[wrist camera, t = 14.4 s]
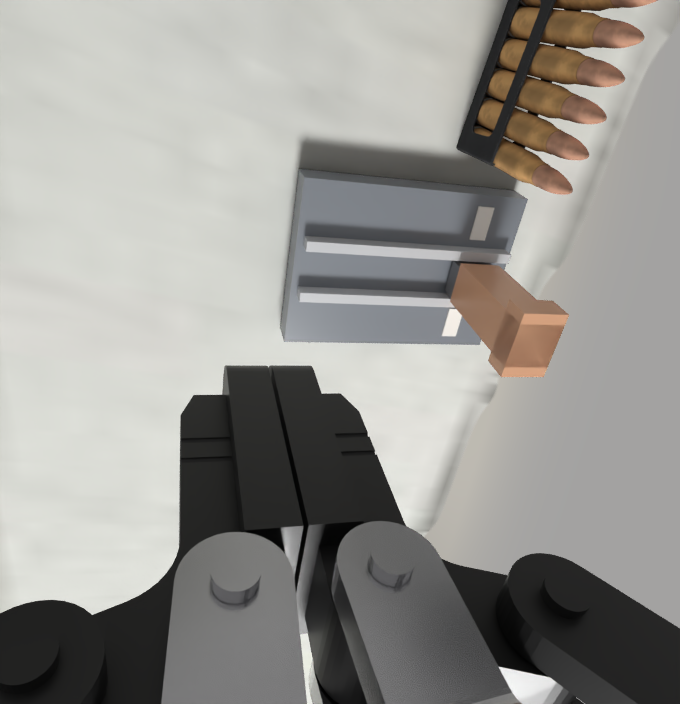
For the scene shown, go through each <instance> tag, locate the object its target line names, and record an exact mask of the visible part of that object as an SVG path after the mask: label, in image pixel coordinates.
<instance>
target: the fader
mask: <svg viewBox="0 0 680 704" xmlns="http://www.w3.org/2000/svg"><path fill="white" fill-rule="evenodd" d="M445 291H446V292H447V294H448V295H449V296H450V297H451V299H450V302H451V303H452V305H453V306H454V307H455V308H456V309H457V311H458V312H459V313H460V314H461V315H462V317H463V318H464V319H465V320H466V321H467V323H468V324H469V325H470V326H471V327H472V329H473V330H474V331H475V332H476V333H477V335H478V336H479V337H480V338H481V340H482V341H483V342H484V343H485V344H486V346H487V347H488V348H489V349H490V350H491V354H490V357H489V360H488V361H489V362H490V364H491V365H492V366H493V367H494V369H495V370H496V371H497V372H498V374H499V375H500V376H501V377H544V375H545V372H546V370H547V367H548V365H549V362H550V360H551V358H552V355H553V353H554V350H555V348H556V346H557V343H558V341H559V338H560V336H561V334H562V331H563V329H564V326H565V324H566V321H567V319H568V317H569V314H567V313H566V312H565V311H564V310H563V309H561V308H560V307H559V306H558V305H557V304H556V303H554V301H544V300H536V299H535V298H534V297H533V296H532V295H531V294H530V293H529V292H527V291H526V290H525V289H524V288H523V287H522V286H521V285H520V284H519V283H518V282H516V281H515V280H514V279H513V278H512V277H511V276H510V275H509V274H508V273H506V272H505V271H504V270H503V269H502V268H501V267H500V266H498V265H492V264H491V263H484V262H468V261H453V262H452V266H451V270H450V273H449V277H448V280H447V284H446V288H445Z"/></svg>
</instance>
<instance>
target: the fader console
mask: <svg viewBox="0 0 680 704" xmlns="http://www.w3.org/2000/svg"><path fill="white" fill-rule="evenodd" d="M527 200H528V199H527V198H525V197H524V196H522V195H520V194H519V193H517V192H516V191H514V190H504V189H494V188H484V187H474V186H465V185H455V184H445V183H435V182H425V181H415V180H406V179H396V178H386V177H376V176H366V175H356V174H346V173H337V172H327V171H317V170H307V169H299V173H298V182H297V190H296V199H295V207H294V216H293V224H292V233H291V241H290V250H289V258H288V267H287V276H286V284H285V293H284V301H283V310H282V318H281V327H280V329H281V332H282V336H283V339H284V342H338V343H400V344H461V345H480V342H481V338H480V337H479V336H478V335H477V333H476V332H475V331H474V330H473V329H472V327H471V326H470V325H469V324H468V323H467V321H466V320H465V319H464V318H463V317H462V315H461V314H460V313H459V312H458V311H457V309H456V308H455V307H454V306H453V305H452V303H451V302H450V299H451V297H450V296H449V295H448V294H447V292H446V291H445V288H446V284H447V280H448V277H449V273H450V270H451V266H452V262H453V261H468V262H484V263H491V264H492V265H498V266H500V267H501V268H502V269H503V270H504V269H505V266H506V264H509V261H510V258H511V254H510V251H511V248H512V245H513V242H514V239H515V236H516V233H517V230H518V227H519V224H520V221H521V218H522V215H523V212H524V209H525V206H526V203H527Z"/></svg>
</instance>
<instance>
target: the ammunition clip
mask: <svg viewBox="0 0 680 704" xmlns="http://www.w3.org/2000/svg"><path fill="white" fill-rule="evenodd" d="M656 1H657V0H508V3H507V6H506V8H505V11H504V14H503V17H502V20H501V23H500V25H499V28H498V31H497V34H496V37H495V40H494V42H493V45H492V48H491V51H490V54H489V56H488V59H487V62H486V65H485V68H484V71H483V73H482V76H481V79H480V82H479V85H478V88H477V90H476V93H475V96H474V99H473V102H472V105H471V107H470V110H469V113H468V116H467V119H466V122H465V124H464V127H463V130H462V133H461V136H460V138H459V141H458V144H457V147H456V148H457V150H460V151H462V152H464V153H466V154H468V155H470V156H472V157H474V158H477V159H479V160H481V161H483V162H485V163H487V164H489V165H492V166H495V167H497V168H498V169H500V170H502V171H504V172H505V173H507V174H509V175H510V176H512V177H514V178H516V179H517V180H519V181H522V182H525V183H530V184H532V185H534V186H536V187H539V188H541V189H543V190H545V191H548V192H551V193H555V194H570V193H572V191H573V189H572V186H571V184H570V183H569V181H568V180H567V179H566V178H565V177H564V176H563V175H562V174H561V173H560V172H559V171H557V170H555V169H554V168H552V167H550V166H549V165H548V164H546V163H545V162H543V161H542V160H541V159H540V158H539V157H538V156H537V155H536V154H534V153H532V152H530V151H528V150H526V149H525V146H526V147H528V148H530V149H532V150H535V151H542V152H546V153H549V154H553V155H555V156H557V157H560V158H564V159H568V160H583V159H587V158H588V157H589V153H588V150H587V149H586V147H585V146H584V145H583V144H582V143H581V142H580V141H579V140H577V139H576V138H574V137H573V136H571V135H569V134H567V133H565V132H563V131H561V130H559V129H557V128H556V127H555V126H554V125H553V124H552V123H550V122H548V121H546V120H544V119H541V118H539V117H538V115H542V116H545V117H548V118H560V119H563V120H569V121H572V122H575V123H581V124H597V123H601V122H604V121H605V120H606V119H607V117H606V114H605V112H604V111H603V110H602V109H601V108H600V107H599V106H598V105H596V104H595V103H593V102H591V101H590V100H588V99H586V98H583V97H580V96H578V95H576V94H573V93H571V92H570V91H568V90H567V89H565V88H564V87H562V86H559V85H556V84H552V81H553V82H557V83H561V84H579V85H587V86H593V87H610V86H615V85H618V84H621V83H622V82H624V80H625V77H624V75H623V74H622V72H621V71H620V70H618V69H617V68H616V67H614V66H612V65H611V64H609V63H606V62H604V61H601V60H596V59H594V58H591V57H588V56H585V55H583V54H582V53H580V52H578V51H576V50H570V49H566V47H573V48H581V49H585V48H590V47H599V48H602V47H604V48H624V47H629V46H633V45H636V44H638V43H640V42H641V41H643V40H644V35H643V33H642V32H641V31H640V30H639V29H637V28H636V27H634V26H633V25H631V24H628V23H625V22H622V21H617V20H611V19H608V18H602V17H600V16H598V15H596V14H594V13H588V12H581V10H591V11H601V10H605V9H608V8H620V7H625V8H631V7H639V6H644V5H647V4H650V3H653V2H656ZM553 8H560V9H564V10H556V9H553ZM540 42H542V43H549V44H555V45H554V46H550V45H544V44H539V43H540ZM527 75H530V76H534V77H538V78H541V80H539V79H535V78H532V77H528V76H527ZM515 106H518V107H520V108H523V109H526V110H528V113H527V112H524V111H522V110H519V109H517V108H514V107H515ZM503 136H505V137H507V138H509V139H511V140H513V141H514V142H513V143H512V142H510V141H508V140H506V139H504V138H503Z"/></svg>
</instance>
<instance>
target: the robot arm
mask: <svg viewBox="0 0 680 704" xmlns="http://www.w3.org/2000/svg"><path fill="white" fill-rule="evenodd" d="M367 433H368V432H367V430H366V427H365V425H364V423H363V420H362V418H361V415H360V413H359V411H358V410H357V409H356V408H355V407H354V406H353V405H352V404H351V403H350V402H349V401H348V400H347V399H346V398H344V397H343V396H342V395H341V394H321V391H320V388H319V385H318V382H317V379H316V376H315V373H314V370H313V368H312V366H269V368H268V366H225V368H224V377H223V393H222V395H194V396H193V397H192V399H191V400H190V402H189V403H188V405H187V406H186V408H185V409H184V411H183V412H182V414H181V427H180V512H179V550H178V553H177V556H176V558H175V561H174V563H173V565H172V566H171V568H170V569H169V570H168V572H167V573H166V574H165V575H164V577H163V578H162V579H161V580H160V581H159V582H158V583H156V584H155V585H154V586H153V587H152V588H150V589H149V590H147V591H146V592H144V593H143V594H141V595H139V596H137V597H135V598H133V599H131V600H129V601H127V602H124V603H122V604H119V605H117V606H114V607H112V608H109V609H107V610H104V611H102V612H99V613H97V614H94V615H91V614H90V613H89V612H87V611H86V610H85V609H84V608H82V607H80V606H77V605H75V604H73V603H69V602H65V601H57V600H43V601H35V602H30V603H26V604H23V605H19V606H16V607H13V608H11V609H9V610H7V611H5V612H3V613H0V704H307V700H306V690H305V680H304V670H303V660H302V650H301V640H300V634H306V633H308V636H309V641H310V647H311V652H312V657H313V660H312V664H311V668H310V674H309V689H310V695H311V699H312V702H313V704H584V703H585V704H680V628H678V627H676V626H675V625H673V624H672V623H670V622H668V621H667V620H665V619H664V618H662V617H660V616H659V615H657V614H656V613H654V612H652V611H651V610H649V609H648V608H646V607H644V606H643V605H641V604H640V603H638V602H636V601H635V600H633V599H632V598H630V597H628V596H627V595H625V594H624V593H622V592H620V591H619V590H617V589H616V588H614V587H612V586H611V585H609V584H608V583H606V582H605V581H603V580H601V579H600V578H598V577H596V576H595V575H593V574H591V573H590V572H589V571H587V570H585V569H584V568H582V567H580V566H579V565H577V564H575V563H573V562H572V561H569V560H567V559H565V558H562V557H559V556H555V555H551V554H542V553H536V554H530V555H527V556H524V557H522V558H520V559H519V560H517V561H516V562H515V564H514V565H513V566H512V568H511V570H510V572H509V574H508V576H507V575H503V574H498V573H493V572H489V571H484V570H479V569H474V568H469V567H464V566H460V565H456V564H453V563H450V562H448V561H445V560H443V559H441V558H440V556H439V554H438V553H437V551H436V550H435V548H434V547H433V546H432V545H431V543H430V542H429V541H428V540H427V539H425V538H424V537H423V536H422V535H420V534H419V533H418V532H416V531H415V530H413V529H411V528H409V527H407V526H406V525H405V523H404V521H403V518H402V516H401V513H400V511H399V509H398V506H397V504H396V501H395V499H394V496H393V494H392V491H391V489H390V486H389V484H388V482H387V479H386V477H385V474H384V472H383V469H382V467H381V464H380V462H379V459H378V457H377V455H375V450H374V447H373V445H372V442H371V440H370V437H368V435H367ZM576 697H577V698H578V699H580V700H581V701H582V702H584V703H582V702H581V701H580V700H578V699H577V698H576Z"/></svg>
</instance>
